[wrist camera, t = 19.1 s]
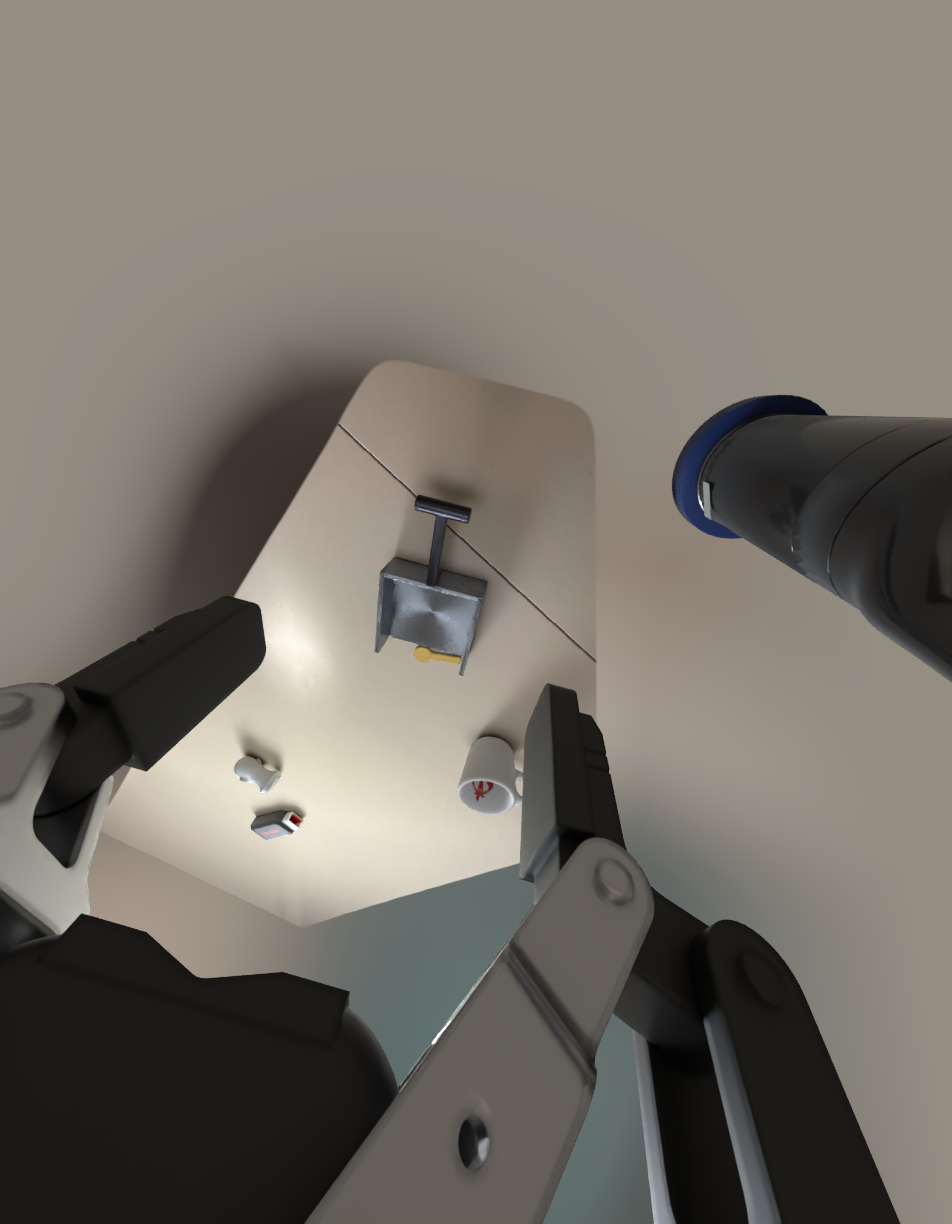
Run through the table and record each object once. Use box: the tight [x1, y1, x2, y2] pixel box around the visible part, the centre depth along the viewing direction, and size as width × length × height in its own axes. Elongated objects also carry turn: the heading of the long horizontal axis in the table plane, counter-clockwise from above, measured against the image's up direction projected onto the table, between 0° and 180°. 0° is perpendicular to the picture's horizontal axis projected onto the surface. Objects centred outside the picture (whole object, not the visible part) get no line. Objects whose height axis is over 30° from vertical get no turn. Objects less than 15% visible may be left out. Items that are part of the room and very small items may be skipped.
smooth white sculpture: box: [234, 757, 281, 793], centre depth 64 cm, size 4×8×5 cm
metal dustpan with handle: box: [375, 495, 488, 676], centre depth 38 cm, size 11×20×5 cm, turn 168°
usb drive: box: [251, 811, 304, 840], centre depth 74 cm, size 5×12×3 cm, turn 122°
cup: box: [457, 737, 523, 814], centre depth 50 cm, size 11×8×8 cm
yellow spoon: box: [414, 646, 461, 664], centre depth 45 cm, size 6×2×1 cm, turn 86°
